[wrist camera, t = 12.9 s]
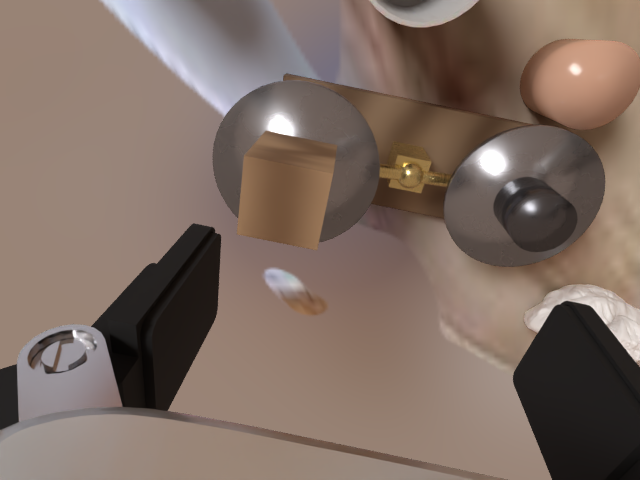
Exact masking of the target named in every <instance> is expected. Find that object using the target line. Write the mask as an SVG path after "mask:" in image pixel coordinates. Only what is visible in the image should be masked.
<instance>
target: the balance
mask: <svg viewBox="0 0 640 480" xmlns="http://www.w3.org/2000/svg"><path fill="white" fill-rule="evenodd" d="M265 131H271V132H276V133H281V134H285V135H290V136H295V137H300V138H305V139H310V140H315V141H319V142H324V143H329V144H334V145H337V151H336V158H335V165H334V172H333V177H332V182H331V187H330V192H329V196H328V201H327V206H326V210H325V215H324V220H323V225H322V229H321V234H320V239H319V242H323V241H326V240H329V239H332V238H334V237H336V236H338V235H340V234H342V233H343V232H345V231H346V230H348V229H350V228H351V227H352V226H353V225H354V224H356V223H357V222H358V221H359V219H360V218H361V217H362V216H363V215H364V214H365V212H366V211H367V209H368V208H369V206H370V204H371V202H372V200H373V198H374V196H375V193H376V190H377V186H378V181H379V178H386V179H387V182H388V186H389V187H392V188H397V189H401V190H406V191H411V192H416V193H421V192H422V189H423V186H424V184H428V185H435V186H442V187H446V191H445V194H444V200H443V214H444V220H445V224H446V227H447V229H448V231H449V233H450V235H451V237H452V239H453V241H454V242H455V243H456V245H457V246H458V247H459V248H460V249H461V250H462V251H463V252H465V253H466V254H467V255H468V256H470V257H472V258H474V259H475V260H478V261H480V262H483V263H486V264H490V265H494V266H502V267H514V266H523V265H529V264H533V263H536V262H540V261H542V260H545V259H547V258H550V257H552V256H554V255H556V254H558V253H559V252H561V251H562V250H564V249H566V248H567V247H568V246H570V245H571V244H572V243H573V242H575V241H576V240H577V239H578V238H579V237H580V236H581V235H582V234H583V233H584V232H585V231H586V229H587V228H588V227H589V226H590V224H591V223H592V221H593V220H594V218H595V217H596V215H597V213H598V211H599V209H600V206H601V203H602V200H603V196H604V191H605V174H604V169H603V165H602V162H601V160H600V158H599V156H598V154H597V153H596V152H595V150H594V149H593V147H592V146H590V145H589V144H588V143H587V142H586V141H585V140H584V139H582V138H581V137H579V136H578V135H576V134H574V133H571V132H569V131H567V130H565V129H562V128H559V127H555V126H549V125H525V126H519V127H515V128H511V129H508V130H505V131H502V132H500V133H498V134H496V135H494V136H492V137H490V138H488V139H486V140H485V141H483V142H482V143H480V144H479V145H477V146H476V147H475V148H474V149H473V150H471V151H470V152H469V153H468V154H467V155H466V156H465V157H464V158H463V159H462V161H461V162H460V163H459V165H458V166H457V167H456V169H455V170H454V172H453V174H446V173H439V172H432V171H429V168H430V165H431V160H430V158H429V157H428V155H427V153H426V151H425V150H424V148H423V147H419V146H414V145H409V144H405V143H400V142H395V141H393V143H392V147H391V150H390V154H389V158H388V161H387V165H386V164H380V161H379V153H378V148H377V144H376V140H375V138H374V135H373V132H372V130H371V128H370V126H369V124H368V122H367V121H366V119H365V118H364V117H363V115H362V114H361V112H360V111H359V110H358V109H357V108H356V107H355V106H354V105H353V104H352V103H351V102H350V101H348V100H347V99H346V98H345V97H344V96H342V95H340V94H339V93H337V92H336V91H334V90H332V89H330V88H327V87H325V86H323V85H320V84H316V83H313V82H308V81H300V80H286V81H279V82H274V83H270V84H267V85H264V86H262V87H260V88H258V89H255V90H253V91H252V92H250V93H249V94H247V95H246V96H244V97H243V98H241V99H240V100H239V101H238V102H237V103H236V104H235V105H234V106H233V107H232V108H231V109H230V111H229V112H228V113H227V114H226V116H225V117H224V119H223V121H222V122H221V125H220V127H219V129H218V132H217V135H216V138H215V142H214V147H213V169H214V176H215V179H216V183H217V186H218V189H219V191H220V193H221V195H222V197H223V199H224V200H225V202H226V204H227V206H228V207H229V208H230V209H231V211H232V212H233V213H234V214H235V215H236V216H237V218H238V216H239V205H240V194H241V183H242V172H243V161H244V155H245V154H246V153H247V152H248V150H249V149H250V148H251V147H252V146H253V145H254V144H255V142H256V141H257V140H258V139H259V138H260V137H261V135H262V134H263V133H264V132H265Z"/></svg>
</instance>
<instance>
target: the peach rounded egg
mask: <svg viewBox="0 0 640 480" xmlns="http://www.w3.org/2000/svg"><path fill="white" fill-rule="evenodd" d="M639 87H640V58H639V56H638V55H637V53H636V52H635V51H634V50H633V49H632V48H631V47H630V46H628V45H626V44H624V43H621V42H617V41H603V40H583V39H561V40H557V41H554V42H551V43H549V44H547V45H546V46H544V47H542V48H541V49H540V50H539V51H537V52H536V53H535V54H534V55H533V56H532V58H531V59H530V60H529V61H528V63H527V65H526V66H525V68H524V71H523V73H522V76H521V81H520V92H521V96H522V99H523V101H524V103H525V104H526V105H527V107H529V108H530V109H531V110H532V111H534V112H536V113H539V114H541V115H543V116H545V117H547V118H549V119H552V120H554V121H556V122H558V123H560V124H562V125H565V126H567V127H569V128H572V129H577V130H589V129H594V128H598V127H600V126H603V125H605V124H607V123H609V122H611V121H612V120H614V119H615V118H617V117H618V116H619V115H620V114H622V113H623V112H624V111H625V110H626V109H627V108H628V106H629V105H630V104H631V102H632V101H633V99H634V98H635V96H636V94H637V92H638V90H639Z"/></svg>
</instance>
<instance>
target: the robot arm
mask: <svg viewBox="0 0 640 480" xmlns="http://www.w3.org/2000/svg"><path fill="white" fill-rule="evenodd" d="M220 248H221V235H220V234H217V233H215V229H214V228H213V227H208V226H203V225H199V224H192V225H191V226H190V227H189V228H188V229H187V231H185V233H184V234H183V235H182V236H181V237H180V238H179V239H178V240H177V242H176V243H175V244H174V245H173V246H172V247H171V248H170V250H169V251H168V252H167V253H166V254H165V255H164V256H163V258H162V259H161V260H160V261H159V262H158V263H157V264H155V263H151V264H149V265H148V266H147V267H146V268H145V269H144V270H143V271H142V272H141V273H140V274H139V275H138V276H137V277H136V278H135V279H134V280H133V282H132V283H131V284H130V285H129V286H128V287H127V288H126V289H125V290H124V291H123V292H122V294H121V295H120V296H119V297H118V298H117V299H116V300H115V301H114V302H113V303H112V304H111V305H110V307H109V308H108V309H107V310H106V311H105V312H104V313H103V314H102V315H101V316H100V317H99V319H98V320H97V321H96V322H95V323H94V324H93V325H92V326H91V327H90V326H86V325H73V324H72V325H66V326H59V327H56V328H53V329H50V330H47V331H45V332H43V333H41V334H39V335H38V336H36V337H34V338H33V339H32V340H31V341H29V342H28V343H27V344H26V345H25V346H24V347H23V349H22V350H21V352H20V353H19V356H18V360H17V364H16V365H13V366H9V367H6V368H3V369H0V480H506V479H502V478H497V477H493V476H487V475H483V474H479V473H474V472H469V471H464V470H460V469H455V468H450V467H446V466H441V465H436V464H431V463H427V462H422V461H417V460H412V459H408V458H403V457H398V456H394V455H389V454H384V453H380V452H374V451H370V450H365V449H360V448H356V447H351V446H346V445H341V444H336V443H331V442H326V441H322V440H317V439H312V438H307V437H302V436H297V435H292V434H288V433H283V432H278V431H273V430H268V429H264V428H258V427H254V426H248V425H243V424H238V423H232V422H226V421H221V420H216V419H211V418H206V417H200V416H195V415H190V414H184V413H177V412H170V411H168V409H169V407H170V405H171V403H172V401H173V399H174V397H175V395H176V394H177V391H178V390H179V388H180V386H181V384H182V382H183V380H184V378H185V376H186V374H187V372H188V371H189V369H190V367H191V365H192V363H193V361H194V359H195V357H196V355H197V353H198V351H199V349H200V347H201V345H202V344H203V342H204V340H205V338H206V336H207V334H208V332H209V330H210V328H211V326H212V324H213V323H214V320H215V318H216V314H217V307H218V289H219V287H218V286H219V269H220ZM513 382H514V386H515V388H516V391H517V393H518V396H519V398H520V401H521V403H522V406H523V408H524V410H525V413H526V415H527V418H528V421H529V423H530V426H531V428H532V431H533V433H534V435H535V438H536V440H537V443H538V445H539V448H540V450H541V453H542V455H543V458H544V460H545V463H546V465H547V468H548V470H549V473H550V475H551V478H552V480H640V367H639V366H638V364H637V363H636V362H635V361H634V359H633V358H632V357H631V356H630V354H629V353H628V352H627V351H626V349H625V348H624V347H623V345H622V344H621V343H620V342H619V340H618V339H617V338H616V337H615V335H614V334H613V333H612V332H611V330H610V329H609V328H608V327H607V325H606V324H605V323H604V321H603V320H602V319H601V318H600V316H599V315H598V314H597V313H596V311H595V310H594V309H593V308H592V307H591V306H590V305H586V304H581V303H576V302H572V301H564V302H562V303H561V304H558V305H556V306H554V308H553V309H552V311H551V312H550V314H549V316H548V317H547V319H546V321H545V322H544V324H543V325H542V327H541V329H540V330H539V332H538V334H537V335H536V337H535V339H534V340H533V342H532V343H531V345H530V347H529V348H528V350H527V352H526V353H525V355H524V356H523V358H522V360H521V361H520V363H519V365H518V366H517V368H516V370H515V372H514V375H513Z"/></svg>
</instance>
